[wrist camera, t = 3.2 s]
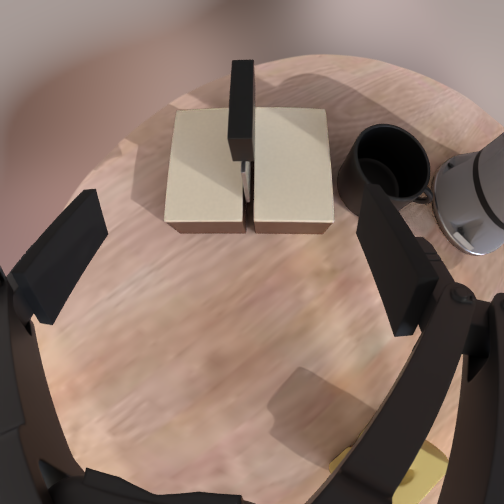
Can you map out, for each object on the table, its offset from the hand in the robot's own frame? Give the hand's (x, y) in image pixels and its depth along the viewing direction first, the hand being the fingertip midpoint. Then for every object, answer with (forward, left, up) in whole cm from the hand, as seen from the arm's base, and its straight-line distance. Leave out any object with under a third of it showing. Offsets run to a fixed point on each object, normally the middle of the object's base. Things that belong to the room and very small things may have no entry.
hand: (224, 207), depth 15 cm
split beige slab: (0, -11, -24) cm, 27 cm away
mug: (-17, -10, -24) cm, 31 cm away
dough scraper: (0, -11, -18) cm, 21 cm away
